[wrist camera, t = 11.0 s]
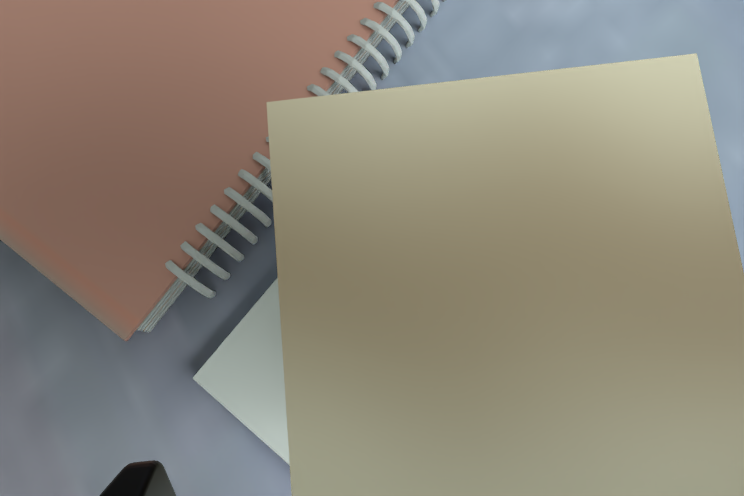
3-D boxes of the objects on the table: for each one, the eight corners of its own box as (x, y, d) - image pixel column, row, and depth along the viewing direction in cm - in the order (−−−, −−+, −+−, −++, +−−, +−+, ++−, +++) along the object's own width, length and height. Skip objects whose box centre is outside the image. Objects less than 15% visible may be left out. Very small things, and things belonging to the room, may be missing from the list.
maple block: (541, 428, 19) (795, 514, 7) (371, 444, 19) (295, 558, 7) (518, 261, 20) (695, 53, 8) (356, 277, 20) (266, 101, 8)
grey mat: (700, 327, 20) (707, 325, 20) (478, 628, 19) (480, 635, 18) (417, 118, 22) (417, 112, 21) (197, 378, 21) (192, 378, 20)
